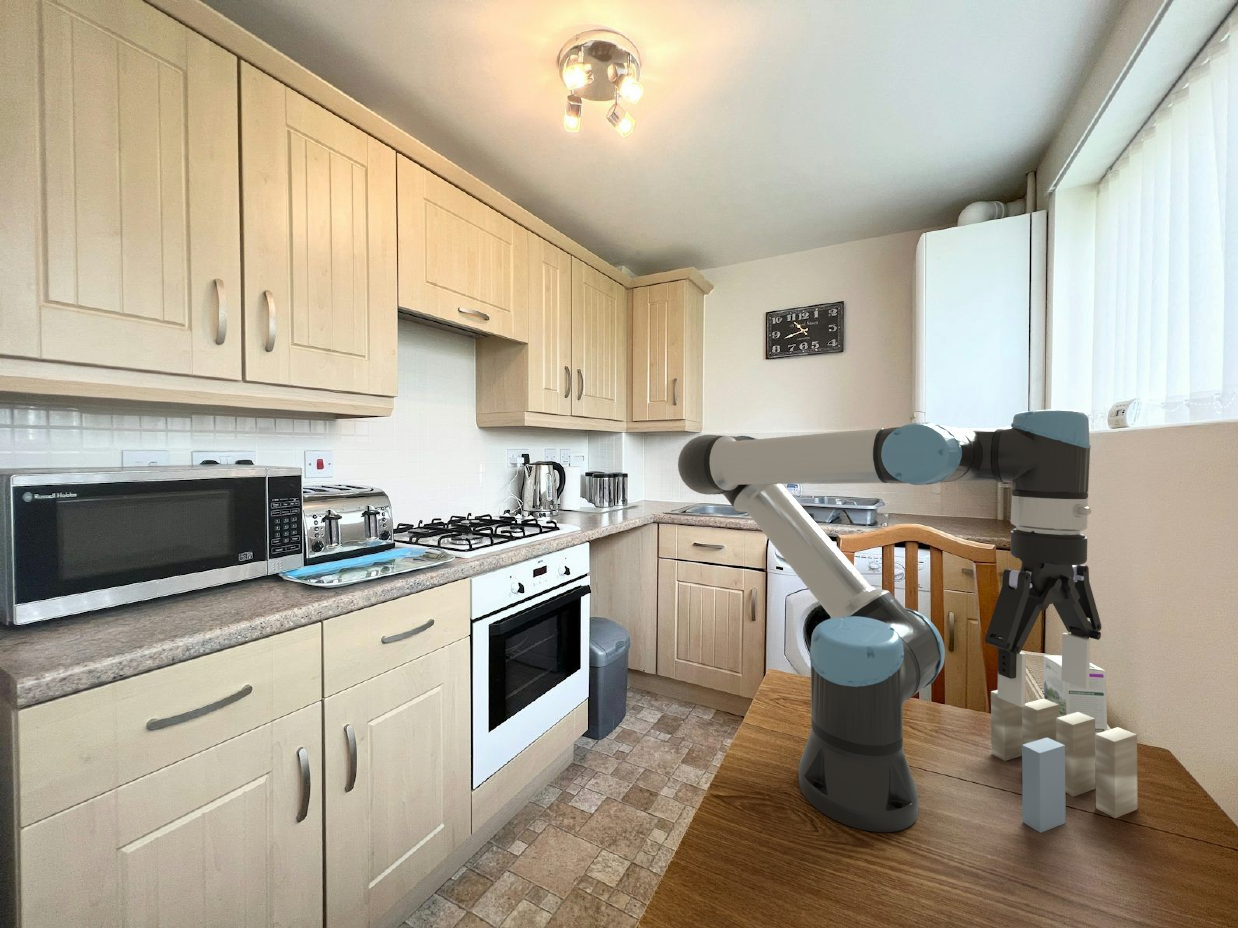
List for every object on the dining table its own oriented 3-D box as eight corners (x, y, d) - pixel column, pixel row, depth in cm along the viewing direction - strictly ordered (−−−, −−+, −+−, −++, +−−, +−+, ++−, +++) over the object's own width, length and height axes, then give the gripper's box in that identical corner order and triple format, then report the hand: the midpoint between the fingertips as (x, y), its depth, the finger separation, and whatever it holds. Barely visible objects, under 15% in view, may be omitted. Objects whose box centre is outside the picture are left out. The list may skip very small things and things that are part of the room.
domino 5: (1096, 808, 67) (1095, 733, 67) (1118, 799, 68) (1117, 727, 68) (1115, 818, 65) (1114, 741, 65) (1137, 808, 66) (1136, 734, 66)
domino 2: (1022, 769, 75) (1022, 703, 75) (1044, 763, 77) (1043, 698, 77) (1037, 777, 73) (1037, 710, 73) (1059, 770, 75) (1058, 704, 75)
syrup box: (1110, 764, 76) (1109, 670, 76) (1065, 759, 77) (1065, 667, 78) (1083, 743, 82) (1082, 656, 82) (1042, 739, 83) (1041, 653, 83)
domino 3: (1022, 821, 64) (1022, 744, 64) (1047, 812, 66) (1047, 737, 66) (1040, 832, 62) (1039, 753, 62) (1065, 822, 64) (1064, 745, 64)
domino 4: (1056, 787, 71) (1056, 717, 71) (1078, 780, 73) (1078, 711, 73) (1073, 796, 69) (1073, 724, 69) (1095, 788, 71) (1095, 718, 71)
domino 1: (991, 753, 79) (990, 691, 79) (1012, 747, 81) (1011, 686, 81) (1004, 760, 77) (1004, 696, 77) (1026, 754, 79) (1025, 691, 79)
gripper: (1019, 539, 56) (1015, 725, 56) (1138, 529, 65) (1134, 689, 66) (953, 530, 63) (950, 695, 63) (1069, 522, 72) (1066, 666, 73)
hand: (1044, 692), depth 64 cm, fingers open, 13 cm apart
